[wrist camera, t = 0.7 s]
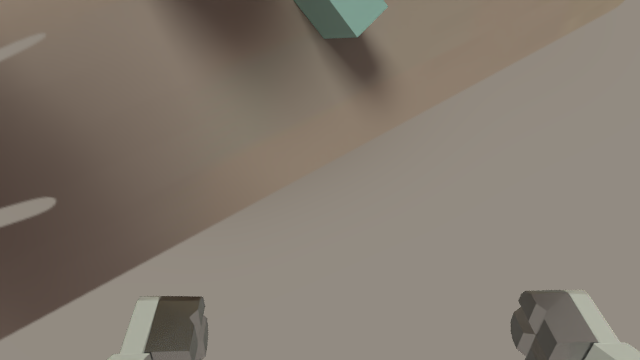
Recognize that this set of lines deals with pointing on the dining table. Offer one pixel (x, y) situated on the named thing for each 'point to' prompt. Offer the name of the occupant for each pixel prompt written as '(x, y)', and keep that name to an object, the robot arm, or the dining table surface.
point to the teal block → (341, 16)
